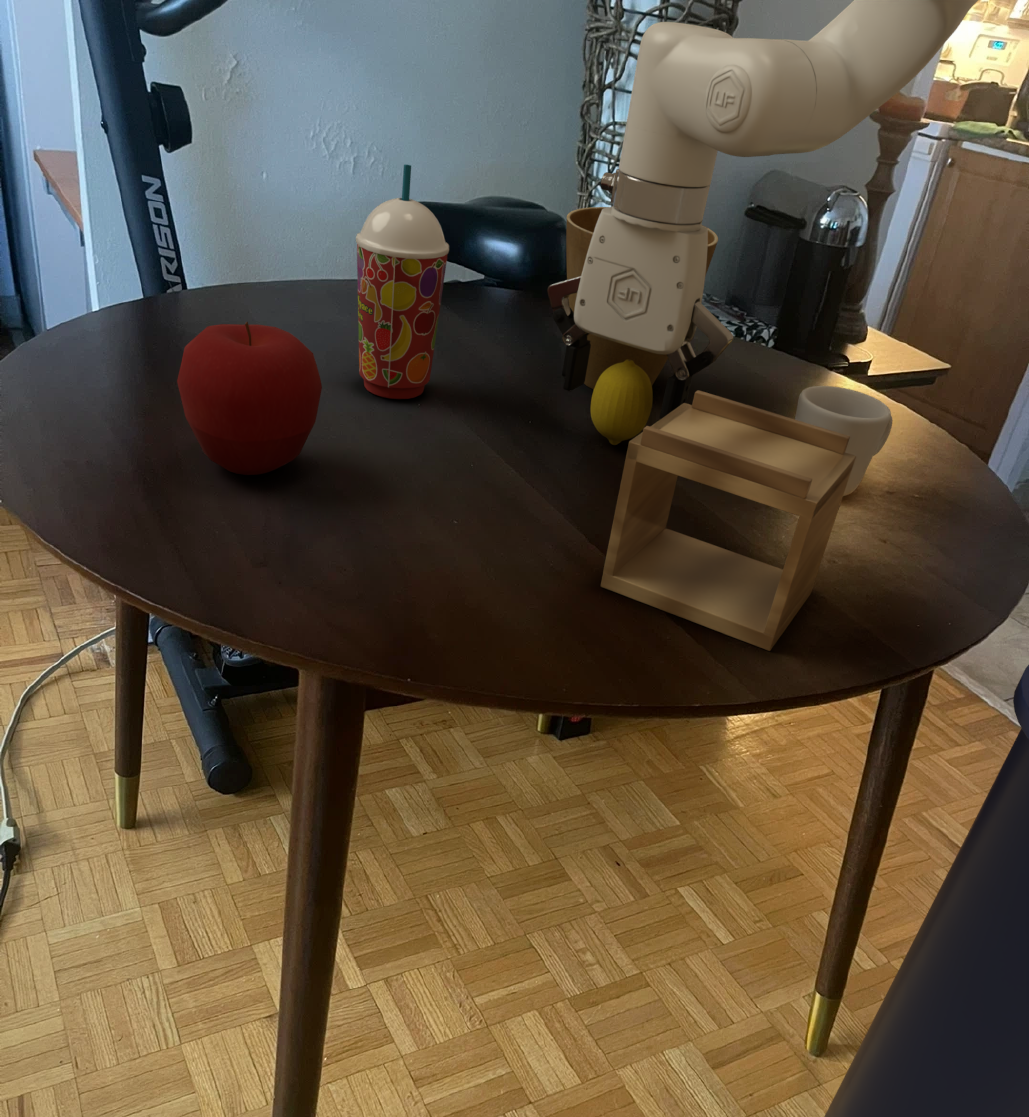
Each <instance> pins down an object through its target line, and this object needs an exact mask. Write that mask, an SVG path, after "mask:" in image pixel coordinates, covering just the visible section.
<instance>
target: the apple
mask: <svg viewBox="0 0 1029 1117" xmlns="http://www.w3.org/2000/svg"><path fill="white" fill-rule="evenodd" d="M176 383H177V388H178V392H179V396H180V401H181V404H182V408H183V413H184V417H185V419H186V421H187V423H188V425H189V427H190V429H191V431H192V433H193V435H194V437H195V438H196V440H197V442H198V445H200V448H201V450H202V452H203V454H204V455H206V457H207V458H208V459H209V460H210V461H211V462H213V463H215V464H216V465H218V466H221V468H223V469H225V470H226V471H228V472H230V473H233V474H236V475H243V476H258V475H263V474H267V473H270V472H273V471H275V470H277V469H280V468H281V467H283V466H285V465H287V464H289V463H290V462H293V461H294V460H295V459H296V458H297V457H299V455H301V452H302V450H303V448H304V446H305V444H306V442H307V440H308V438H309V436H310V435H311V432H312V430H313V428H314V426H315V424H316V422H317V421H316V420H317V417H318V411H319V407H320V406H319V405H320V401H321V395H322V390H323V384H322V380H321V375H320V372H319V369H318V365H317V362H316V358H315V355H314V353H313V351H311V349H309V348H308V346H306V345H305V344H304V343H303V342H302V341H300V339H299V338H297V337H296V336H295V335H293V334H292V333H290V332H289V331H286V330H285V329H282V328H279V327H277V326H272V325H264V324H249V321H248V320H247V321H246V322H245V324H235V323H232V324H231V323H230V324H228V323H221V324H215V325H208V326H206V327H205V328H204V329H203V330H201V331H200V332H199V333H198V334H197V335H196V336H195V337H194V338H192V340H190V341H189V342H188V343H187V344H186V345H185V346H184V349H183V354H182V357H181V362H180V367H179V372H178V376H177V380H176Z"/></svg>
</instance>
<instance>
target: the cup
mask: <svg viewBox="0 0 1029 1117" xmlns="http://www.w3.org/2000/svg"><path fill="white" fill-rule="evenodd" d="M794 419H795V420H798V421H801V422H805V423H808V424H811V425H815V426H818V427H821V428H825V429H828V430H831V431H835V432H838V433H841V434H844V435H848V436H850V439H849V442H848V445H847V448H846V451H845V453H848V454H852V455H855V456H856V459H855V462H854V465H853V468H852V471H851V474H850V477H849V480H848V483H847V486H846V489H845V492H844V495H843V497H846V496H848V495H850V494H852V493H853V492H854V491H856V489H857V488H858V487H859V486H860V484H861V482H862V481H863V479H864V476H865V474H866V471H867V469H868V467H869V465H870V463H871V461H872V458H873V457H875V456H876V455H877V454H879V453H880V451H881V450H882V449H883V448H884V446H885V444H886V442H887V441H888V439H889V436H890V434H891V431H892V428H893V421H894V420H893V416H892V411H891V409H890V408H889V406H887V404H886V403H884V402H882V401H881V400H879V399H878V398H876V397H874V396H871V395H869V394H867V393H865V392H864V393H863V392H861V391H858V390H854V389H851V388H846V387H839V386H833V385H832V386H831V385H814V386H809V387H806V388H804V389H803V390H802V391H801V392H800V394H799V396H798V401H797V405H796V410H795V417H794Z"/></svg>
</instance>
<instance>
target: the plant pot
mask: <svg viewBox="0 0 1029 1117" xmlns="http://www.w3.org/2000/svg"><path fill="white" fill-rule="evenodd" d="M609 207H610V206H593V207H592V206H590V207H582V208H577V209H574V210H572V211H569V212H568V214H567V215H566V233H565V235H566V236H565V237H566V239H565V240H566V241H565V242H566V244H565V245H566V249H565V250H566V252H565V253H566V280H568V279H572V278H575V277H578V276H581V275H582V271H583V267H584V263H585V259H586V256H587V252H588V249H589V245H590V242H591V239H592V236H593V233H594V229H595V227H596V224H597V221H598V218H599V216H600V213H601V211H602V209H604V208H609ZM701 225H702V226H704V225H703V224H701ZM707 229H708V247H707V263H706V274H705V277H707V274H708V271H709V268H710V265H711V262H712V259H713V257H714V254H715V250H716V248H717V244H718V242H719V237H718V235H717V234H716V232H715V231H713V230H712V229H710V228H709V227H707ZM576 297H577V293H574V294H570V295H569V297H568V300H569V307H570V308H571V309H572V311H573V312H574V309H575V302H576ZM587 340H589V341H590V344H591V348H590V354H589V360H588V366H587V372H586V377H585V382H584V383H583V385H585V386H586V387H588V388H589V389H592V390H594V388H595V385H596V383H597V381H598V379H599V377H600V376H601V374H602V373H603V372H604V371H605V370H606V369H607V368H609V367H610V366H612V365H614V364H617V363H622V362H624V361H625V360H632V361H633V362H634V363H635V365H637V366H639V367H640V368H641V369H643V370H644V371H645V373H646V374H647V375H648V377H649V379H650V382H651V385H652V386H653V385H654V383H655V382H656V380H657V378H658V377H659V375H660V374H661V372H662V370H663V368H664V366H665V365H666V363H667V361H668V358H667V355H666V354H656V353H652V352H648V351H644V350H641V349H638V348H634V347H631V346H628V345H624V344H621V343H618V342H614V341H611V340H608V339H604V338H601V337H598V336H595V335H592V334H589V335H588V336H587Z"/></svg>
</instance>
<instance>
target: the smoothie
mask: <svg viewBox="0 0 1029 1117" xmlns="http://www.w3.org/2000/svg"><path fill="white" fill-rule="evenodd" d="M402 173H403V174H402V187H401V188H402V190H401V197H396V198H391V199H388V200H386V201H384V202H382V203H380V204H379V205H377V206H376V207H375V208H373V209H372V211H370V213H369V214H368V215H367V217H366V218H365V220H364V223H363V224H362V228H361V229H360V232H358V233H356V235H355V243H356V270H357V271H356V272H357V274H356V275H357V319H358V320H357V324H358V326H357V327H358V329H357V330H358V367H359V368H358V372H359V373H358V374H359V376H360V377H361V378H362V379H363V385H364V389H365V390H367V391H368V392H370V393H371V394H373V395H374V396H376V397H377V396H378V397H381V398H385V399H390V400H409V399H415V398H416V397H418V396H421V395H422V394H423V393H424V390H425V386H426V385H427V384H428V383H429V382H430V380H431V373H432V368H433V367H432V366H433V359H434V353H435V346H436V340H437V339H436V338H437V333H438V324H439V318H440V312H441V303H442V298H443V291H444V290H443V289H444V283H445V276H446V271H447V270H446V268H447V262H448V254H449V252H450V244H449V243H448V242H446V239H445V234H444V230H443V228H442V225H441V223H440V222H439V220H438V218H437V217H436V216H435V214H434V213H433V212H432V211H431V210H430V209H429V208H428V207H427V206H426V205H424V204H422V203H421V202H419V201H417V200H414V199H413V198H410V194H411V192H410V191H411V176H412V165H411V164H406V163H405V164H403V172H402Z"/></svg>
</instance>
